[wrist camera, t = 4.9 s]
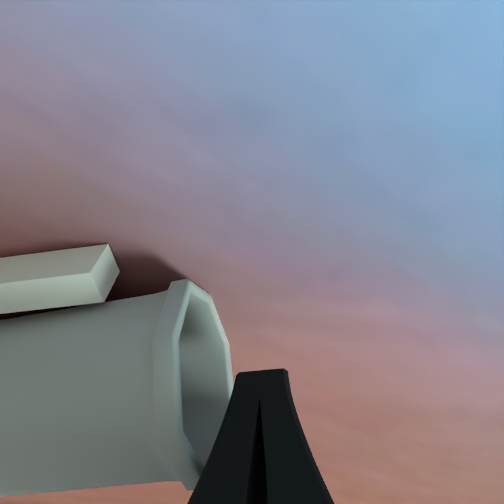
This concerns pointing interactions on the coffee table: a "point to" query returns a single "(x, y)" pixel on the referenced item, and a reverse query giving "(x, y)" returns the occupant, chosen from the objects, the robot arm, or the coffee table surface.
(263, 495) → the robot arm
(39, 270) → the rails
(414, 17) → the coffee table surface
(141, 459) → the tube
